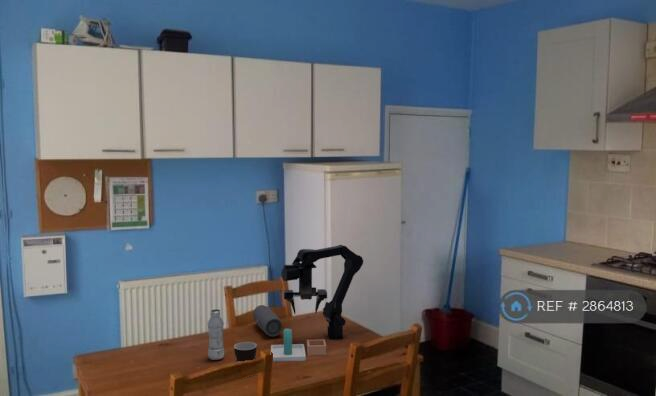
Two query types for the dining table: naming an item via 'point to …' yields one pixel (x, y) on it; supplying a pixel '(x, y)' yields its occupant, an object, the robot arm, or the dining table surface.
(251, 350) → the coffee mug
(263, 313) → the bluetooth speaker
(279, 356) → the grey tray
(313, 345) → the pin cup
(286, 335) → the dowel pin
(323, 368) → the dining table surface
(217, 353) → the plastic bottle
